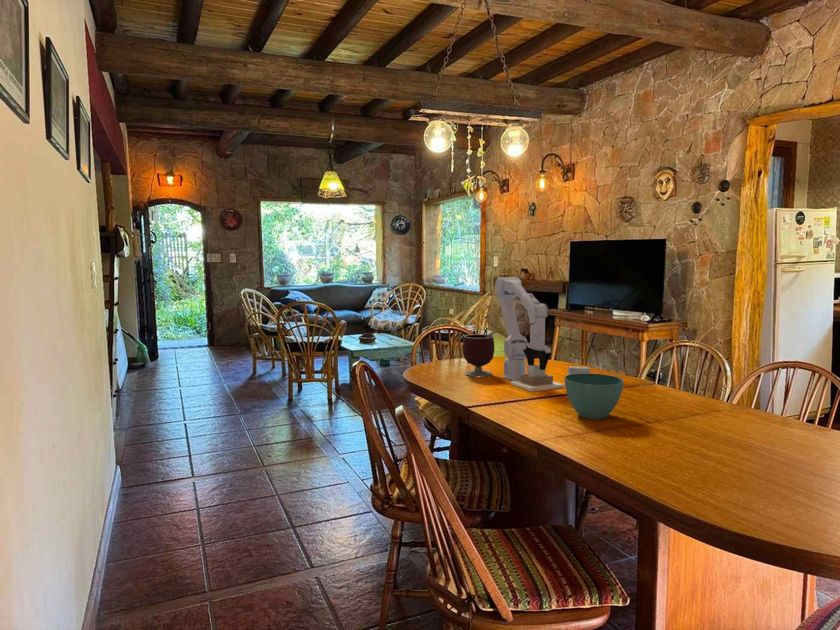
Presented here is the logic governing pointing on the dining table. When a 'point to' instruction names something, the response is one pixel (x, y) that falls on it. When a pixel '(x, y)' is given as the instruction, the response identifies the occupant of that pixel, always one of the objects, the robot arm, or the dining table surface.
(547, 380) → the slot stand
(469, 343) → the mate gourd
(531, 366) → the block
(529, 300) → the robot arm
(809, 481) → the dining table surface
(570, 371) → the medicine box
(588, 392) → the teal bowl
